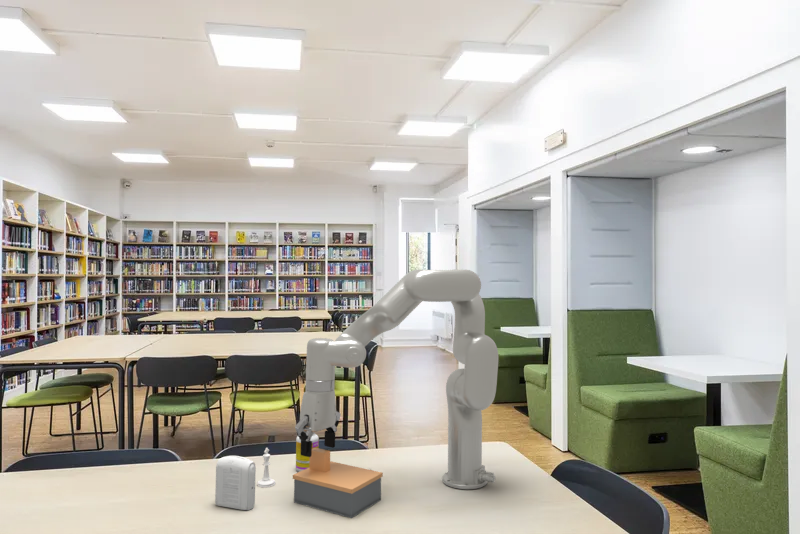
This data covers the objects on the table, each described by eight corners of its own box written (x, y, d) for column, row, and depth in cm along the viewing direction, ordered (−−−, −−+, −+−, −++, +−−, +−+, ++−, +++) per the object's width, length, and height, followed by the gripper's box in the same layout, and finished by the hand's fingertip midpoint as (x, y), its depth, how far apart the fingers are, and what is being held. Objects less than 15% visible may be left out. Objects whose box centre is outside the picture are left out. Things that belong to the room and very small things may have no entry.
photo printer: (257, 505, 143) (258, 456, 143) (248, 512, 139) (248, 461, 139) (222, 500, 146) (223, 451, 146) (212, 506, 142) (213, 456, 142)
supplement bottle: (313, 474, 165) (314, 430, 165) (292, 472, 166) (292, 428, 167) (321, 466, 172) (321, 424, 172) (300, 465, 173) (301, 422, 173)
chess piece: (278, 482, 158) (279, 446, 159) (267, 488, 154) (268, 451, 154) (264, 479, 161) (265, 444, 161) (253, 485, 156) (253, 449, 156)
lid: (382, 480, 147) (382, 453, 147) (351, 497, 135) (352, 468, 135) (325, 467, 156) (326, 441, 157) (292, 482, 145) (292, 455, 145)
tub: (380, 500, 147) (381, 476, 147) (351, 518, 136) (351, 493, 136) (325, 486, 156) (326, 464, 156) (294, 502, 145) (294, 478, 145)
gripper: (329, 379, 159) (327, 441, 158) (286, 389, 144) (284, 457, 143) (350, 382, 155) (349, 445, 154) (309, 392, 140) (307, 462, 140)
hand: (318, 451), depth 149 cm, fingers open, 9 cm apart
